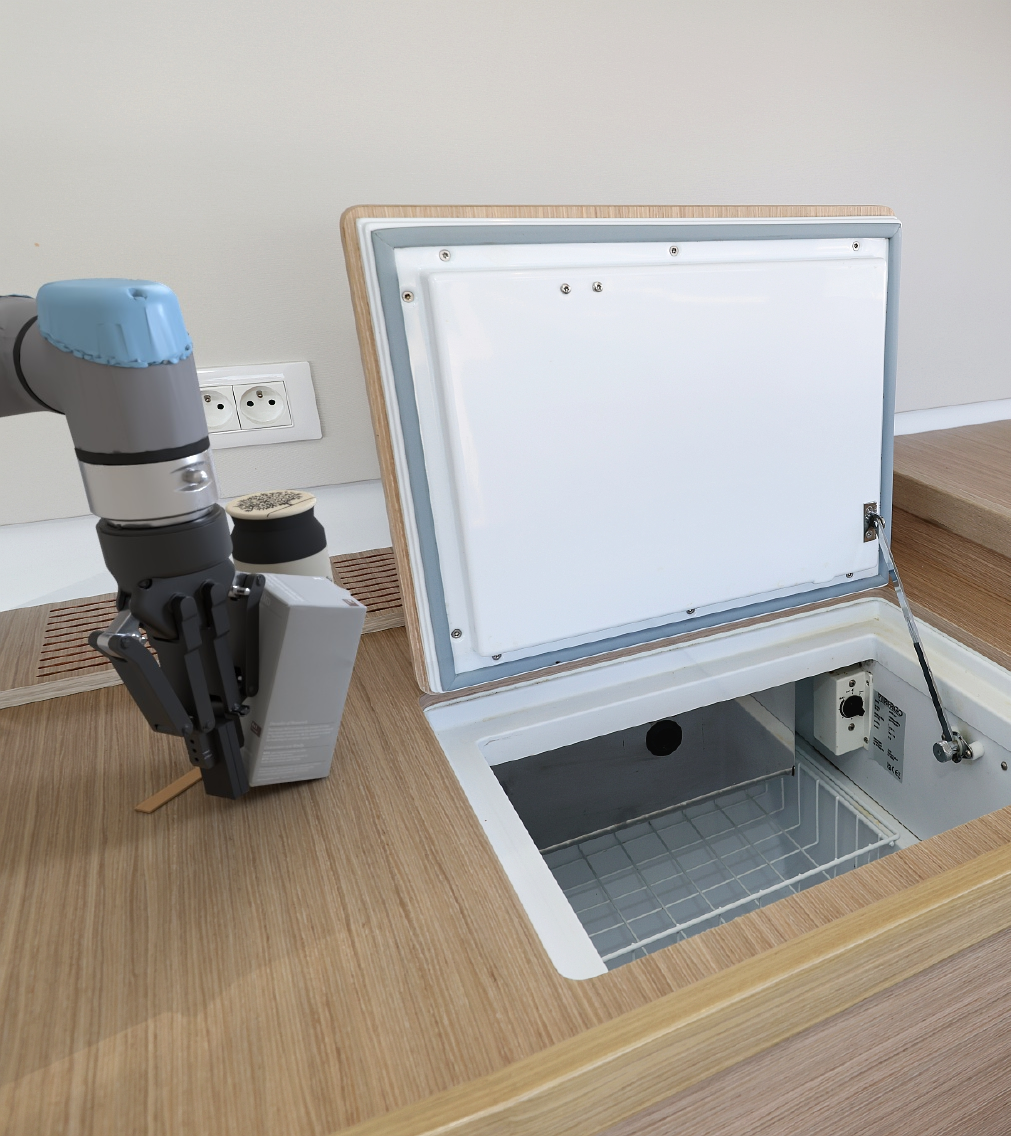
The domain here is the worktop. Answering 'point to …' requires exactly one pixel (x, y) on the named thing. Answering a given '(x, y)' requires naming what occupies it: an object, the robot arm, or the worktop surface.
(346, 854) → the worktop surface
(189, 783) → the wooden strip
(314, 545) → the travel mug
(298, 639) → the cosmetic box
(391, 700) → the worktop surface
